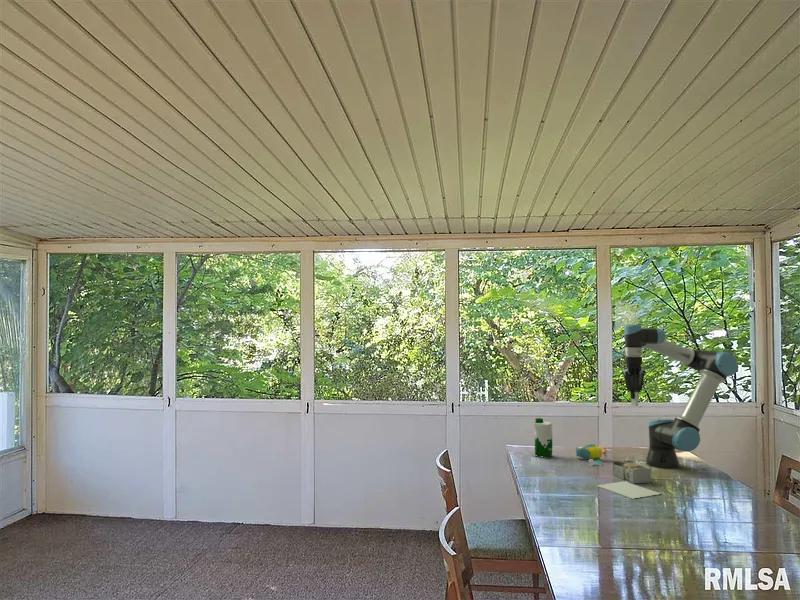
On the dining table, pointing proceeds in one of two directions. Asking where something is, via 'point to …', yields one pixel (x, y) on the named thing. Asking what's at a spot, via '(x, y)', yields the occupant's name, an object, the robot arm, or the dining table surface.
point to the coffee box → (632, 472)
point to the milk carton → (543, 438)
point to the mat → (628, 489)
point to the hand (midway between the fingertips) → (634, 405)
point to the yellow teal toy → (590, 453)
